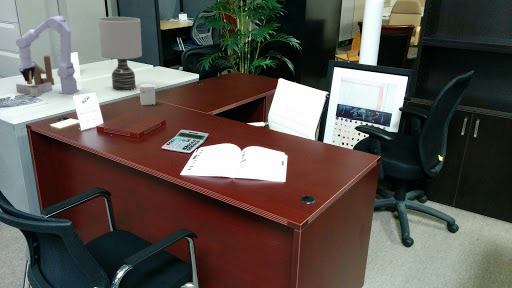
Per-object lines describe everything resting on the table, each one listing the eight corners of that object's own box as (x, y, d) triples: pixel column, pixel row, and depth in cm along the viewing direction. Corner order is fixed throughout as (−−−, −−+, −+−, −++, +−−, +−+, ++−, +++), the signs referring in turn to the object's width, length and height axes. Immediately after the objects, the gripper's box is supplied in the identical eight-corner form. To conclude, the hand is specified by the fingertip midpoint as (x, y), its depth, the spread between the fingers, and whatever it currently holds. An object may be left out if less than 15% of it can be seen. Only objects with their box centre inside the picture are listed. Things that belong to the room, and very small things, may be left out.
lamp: (105, 83, 289) (99, 16, 273) (143, 83, 295) (139, 17, 279) (102, 93, 268) (96, 21, 252) (143, 92, 274) (140, 22, 258)
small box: (154, 101, 257) (153, 84, 253) (155, 104, 252) (154, 86, 248) (140, 102, 255) (139, 84, 251) (141, 105, 250) (140, 87, 246)
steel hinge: (26, 88, 270) (24, 80, 269) (52, 89, 270) (51, 81, 268) (11, 95, 256) (9, 86, 254) (38, 96, 255) (37, 88, 253)
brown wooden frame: (36, 83, 281) (32, 55, 275) (54, 83, 283) (50, 55, 277) (34, 85, 278) (30, 56, 271) (52, 85, 280) (49, 56, 273)
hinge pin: (28, 82, 269) (26, 70, 267) (34, 83, 269) (32, 70, 266) (24, 84, 266) (22, 71, 263) (31, 84, 265) (29, 72, 263)
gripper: (26, 55, 269) (29, 77, 274) (12, 59, 255) (15, 83, 260) (37, 55, 268) (40, 78, 273) (24, 60, 255) (27, 83, 260)
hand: (29, 80), depth 267 cm, fingers closed on hinge pin, 4 cm apart
